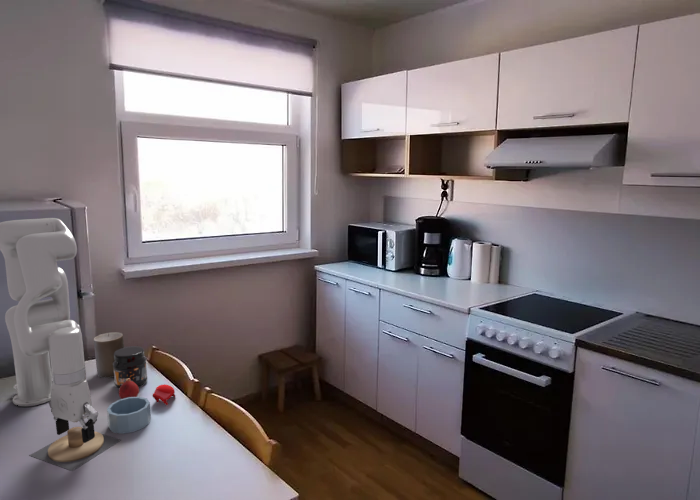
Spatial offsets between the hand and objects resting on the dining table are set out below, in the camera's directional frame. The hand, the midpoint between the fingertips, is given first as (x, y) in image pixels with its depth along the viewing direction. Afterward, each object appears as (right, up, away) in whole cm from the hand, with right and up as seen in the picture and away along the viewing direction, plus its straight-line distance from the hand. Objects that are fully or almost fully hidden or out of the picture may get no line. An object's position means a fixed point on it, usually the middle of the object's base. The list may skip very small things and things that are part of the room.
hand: (75, 436), depth 131 cm
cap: (+13, +1, +27) cm, 30 cm away
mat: (0, -4, +1) cm, 4 cm away
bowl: (+8, -2, +13) cm, 16 cm away
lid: (0, -3, +1) cm, 3 cm away
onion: (+2, +1, +27) cm, 27 cm away
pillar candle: (-14, +5, +49) cm, 51 cm away
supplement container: (-3, +3, +40) cm, 40 cm away
